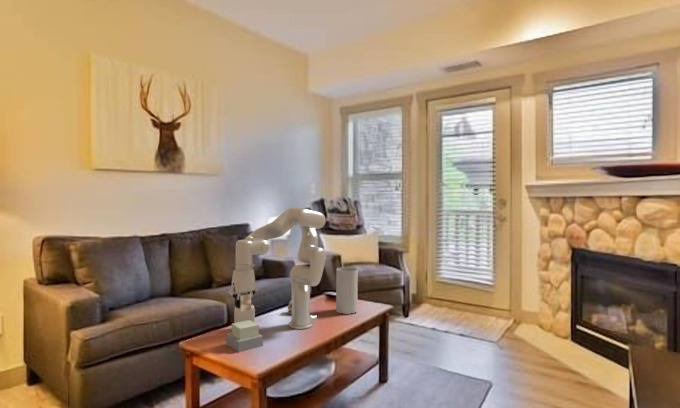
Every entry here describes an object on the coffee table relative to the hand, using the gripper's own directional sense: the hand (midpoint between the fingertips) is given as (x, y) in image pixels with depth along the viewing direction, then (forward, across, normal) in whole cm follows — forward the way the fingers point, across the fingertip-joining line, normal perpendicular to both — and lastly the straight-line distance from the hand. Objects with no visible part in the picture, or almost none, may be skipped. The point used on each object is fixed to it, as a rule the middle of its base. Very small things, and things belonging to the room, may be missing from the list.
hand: (243, 306), depth 190 cm
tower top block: (+13, -1, +1) cm, 13 cm away
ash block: (+2, 0, 0) cm, 2 cm away
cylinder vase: (+18, -72, -10) cm, 75 cm away
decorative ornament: (+18, -46, -26) cm, 56 cm away
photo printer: (+18, -11, -20) cm, 29 cm away
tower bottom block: (+18, 0, +1) cm, 18 cm away
